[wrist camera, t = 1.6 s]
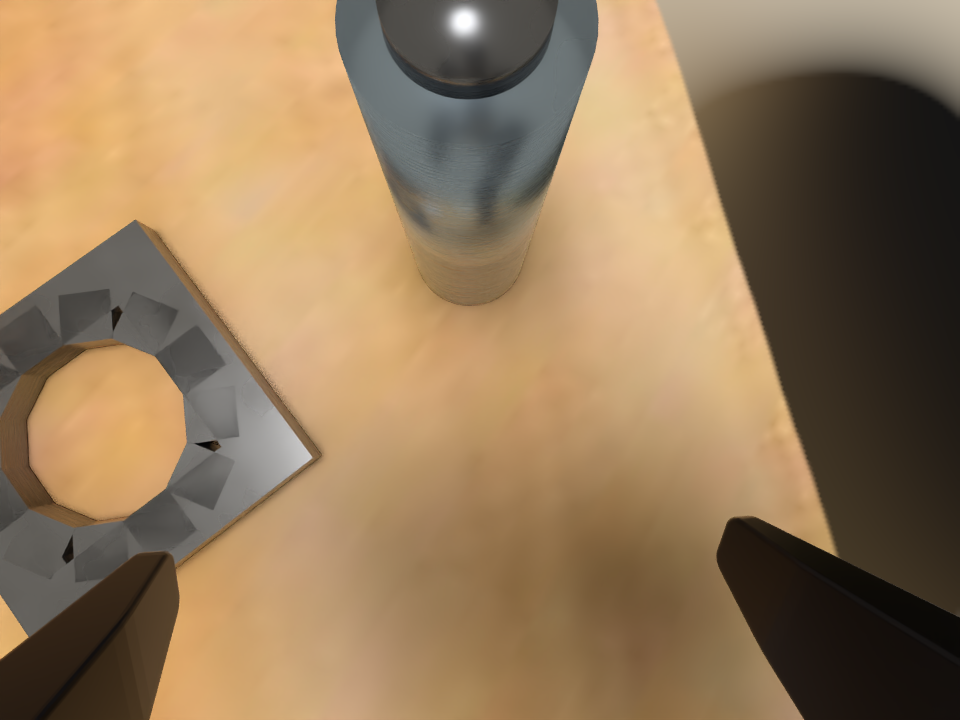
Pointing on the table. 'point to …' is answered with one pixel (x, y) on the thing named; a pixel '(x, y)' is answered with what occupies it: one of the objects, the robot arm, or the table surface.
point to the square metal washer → (208, 417)
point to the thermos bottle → (467, 122)
